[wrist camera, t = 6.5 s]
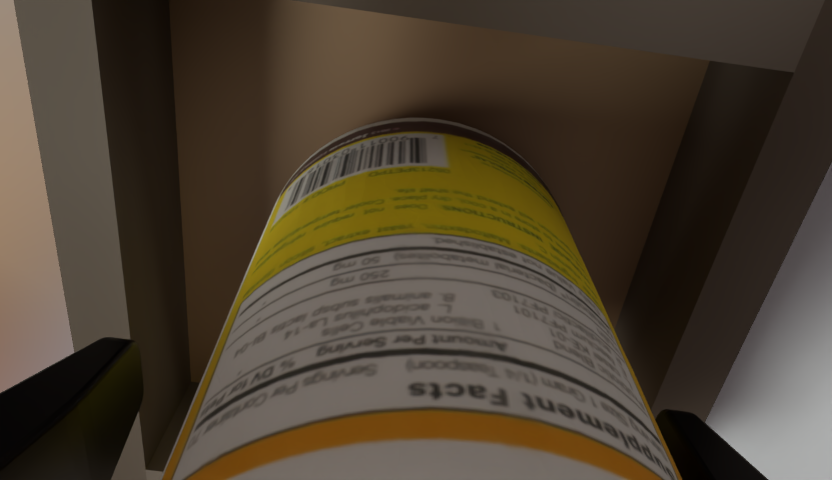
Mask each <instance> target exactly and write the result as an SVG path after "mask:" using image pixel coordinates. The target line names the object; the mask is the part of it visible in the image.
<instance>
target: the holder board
mask: <svg viewBox="0 0 832 480" xmlns="http://www.w3.org/2000/svg"><path fill="white" fill-rule="evenodd" d="M14 4H15V10H16V16H17V22H18V28H19V33H20V39H21V45H22V50H23V57H24V63H25V68H26V74H27V79H28V85H29V91H30V97H31V103H32V109H33V115H34V121H35V126H36V132H37V138H38V144H39V149H40V155H41V161H42V167H43V173H44V179H45V184H46V190H47V196H48V201H49V207H50V213H51V219H52V225H53V231H54V236H55V242H56V247H57V253H58V260H59V266H60V271H61V277H62V283H63V289H64V295H65V300H66V306H67V312H68V318H69V323H70V329H71V335H72V341H73V347H74V352H77V351H79V350H80V349H82V348H84V347H86V346H88V345H90V344H91V343H93V342H95V341H97V340H99V339H101V338H104V337H115V338H123V339H130V340H134V341H135V342H137V343H138V345H139V348H140V354H141V363H142V373H143V382H144V395H143V400H142V404H141V406H140V409H139V412H138V414H137V416H136V419H135V421H134V424H133V426H132V429H131V431H130V434H129V436H128V439H127V441H126V444H125V446H124V449H123V451H122V454H121V456H120V459H119V461H118V464H117V466H116V468H115V471H114V473H113V476H112V478H111V480H160V478H161V476H162V473H163V471H164V469H165V466H166V464H167V461H168V459H169V457H170V454H171V452H172V449H173V447H174V445H175V442H176V440H177V437H178V435H179V433H180V430H181V428H182V425H183V423H184V420H185V418H186V415H187V413H188V410H189V408H190V406H191V403H192V401H193V398H194V396H195V393H196V391H197V389H198V386H199V384H200V382H201V379H202V377H203V374H204V372H205V370H206V367H207V365H208V362H209V360H210V358H211V355H212V353H213V350H214V348H215V346H216V343H217V341H218V338H219V336H220V333H221V331H222V329H223V326H224V324H225V321H226V319H227V316H228V314H229V311H230V309H231V307H232V304H233V302H234V299H235V297H236V295H237V292H238V290H239V288H240V285H241V283H242V280H243V278H244V276H245V273H246V271H247V269H248V266H249V264H250V262H251V259H252V257H253V255H254V252H255V250H256V247H257V245H258V243H259V240H260V238H261V236H262V233H263V231H264V229H265V226H266V224H267V222H268V219H269V217H270V215H271V212H272V210H273V208H274V205H275V203H276V201H277V199H278V197H279V195H280V194H281V192H282V190H283V189H284V187H285V185H286V184H287V182H288V181H289V179H290V178H291V177H292V175H293V174H294V173H295V172H296V171H297V169H298V168H299V167H300V166H301V165H302V164H303V163H304V162H305V161H306V160H307V159H308V158H309V157H310V156H311V155H313V154H314V153H315V152H316V151H318V150H319V149H320V148H322V147H323V146H325V145H326V144H328V143H329V142H331V141H332V140H334V139H336V138H337V137H339V136H341V135H343V134H345V133H347V132H349V131H352V130H354V129H356V128H359V127H362V126H365V125H368V124H372V123H376V122H380V121H385V120H392V119H400V118H431V119H440V120H446V121H451V122H456V123H460V124H463V125H466V126H469V127H472V128H475V129H478V130H480V131H482V132H484V133H487V134H489V135H491V136H492V137H494V138H496V139H498V140H500V141H501V142H503V143H504V144H506V145H507V146H509V147H510V148H511V149H513V150H514V151H515V152H517V153H518V154H519V155H520V156H522V157H523V158H524V159H525V160H526V161H527V162H528V163H529V164H530V165H531V166H532V167H533V168H534V170H535V171H536V172H537V173H538V174H539V176H540V177H541V178H542V180H543V181H544V183H545V184H546V186H547V187H548V189H549V190H550V192H551V194H552V195H553V197H554V199H555V200H556V202H557V204H558V205H559V207H560V210H561V213H562V215H563V218H564V220H565V222H566V224H567V227H568V229H569V231H570V233H571V235H572V238H573V240H574V242H575V244H576V247H577V249H578V251H579V253H580V255H581V258H582V260H583V262H584V264H585V266H586V268H587V270H588V273H589V275H590V277H591V279H592V282H593V284H594V286H595V288H596V290H597V293H598V295H599V297H600V299H601V301H602V304H603V306H604V308H605V310H606V313H607V315H608V317H609V319H610V322H611V324H612V326H613V328H614V331H615V333H616V335H617V337H618V340H619V342H620V344H621V346H622V349H623V351H624V353H625V355H626V357H627V359H628V361H629V363H630V365H631V367H632V369H633V371H634V374H635V376H636V378H637V380H638V383H639V385H640V387H641V389H642V392H643V394H644V396H645V398H646V401H647V403H648V405H649V407H650V410H651V412H652V414H653V416H654V419H655V418H656V416H657V415H658V413H659V412H660V411H662V410H664V409H671V410H678V411H686V412H691V413H693V414H695V415H696V416H698V417H699V418H700V419H701V420H702V421H703V422H705V421H706V419H707V417H708V415H709V413H710V411H711V408H712V406H713V404H714V402H715V400H716V398H717V396H718V394H719V392H720V390H721V388H722V386H723V384H724V382H725V380H726V378H727V376H728V374H729V372H730V369H731V367H732V365H733V363H734V361H735V359H736V357H737V355H738V353H739V351H740V349H741V347H742V345H743V343H744V341H745V339H746V337H747V335H748V333H749V330H750V328H751V326H752V324H753V322H754V320H755V318H756V316H757V314H758V312H759V310H760V308H761V306H762V304H763V302H764V300H765V298H766V296H767V294H768V291H769V289H770V287H771V285H772V283H773V281H774V279H775V277H776V275H777V273H778V271H779V269H780V267H781V265H782V263H783V261H784V259H785V257H786V255H787V252H788V250H789V248H790V246H791V244H792V242H793V240H794V238H795V236H796V234H797V232H798V230H799V228H800V226H801V224H802V222H803V220H804V218H805V216H806V213H807V211H808V209H809V207H810V205H811V203H812V201H813V199H814V197H815V195H816V193H817V191H818V189H819V187H820V185H821V183H822V181H823V179H824V177H825V174H826V172H827V170H828V168H829V166H830V164H831V162H832V0H14Z"/></svg>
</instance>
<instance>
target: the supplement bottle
mask: <svg viewBox="0 0 832 480" xmlns="http://www.w3.org/2000/svg"><path fill="white" fill-rule="evenodd" d="M160 480H682V478H681V476H680V473H679V471H678V469H677V467H676V465H675V462H674V460H673V458H672V456H671V454H670V452H669V449H668V447H667V445H666V443H665V441H664V438H663V436H662V434H661V432H660V430H659V427H658V425H657V423H656V421H655V419H654V416H653V414H652V412H651V410H650V407H649V405H648V403H647V401H646V398H645V396H644V394H643V392H642V389H641V387H640V385H639V383H638V380H637V378H636V376H635V374H634V371H633V369H632V367H631V365H630V363H629V361H628V359H627V357H626V355H625V353H624V351H623V349H622V346H621V344H620V342H619V340H618V337H617V335H616V333H615V331H614V328H613V326H612V324H611V322H610V319H609V317H608V315H607V313H606V310H605V308H604V306H603V304H602V301H601V299H600V297H599V295H598V293H597V290H596V288H595V286H594V284H593V282H592V279H591V277H590V275H589V273H588V270H587V268H586V266H585V264H584V262H583V260H582V258H581V255H580V253H579V251H578V249H577V247H576V244H575V242H574V240H573V238H572V235H571V233H570V231H569V229H568V227H567V224H566V222H565V220H564V218H563V215H562V213H561V210H560V207H559V205H558V204H557V202H556V200H555V199H554V197H553V195H552V194H551V192H550V190H549V189H548V187H547V186H546V184H545V183H544V181H543V180H542V178H541V177H540V176H539V174H538V173H537V172H536V171H535V170H534V168H533V167H532V166H531V165H530V164H529V163H528V162H527V161H526V160H525V159H524V158H523V157H522V156H520V155H519V154H518V153H517V152H515V151H514V150H513V149H511V148H510V147H509V146H507V145H506V144H504V143H503V142H501V141H500V140H498V139H496V138H494V137H492V136H491V135H489V134H487V133H484V132H482V131H480V130H478V129H475V128H472V127H469V126H466V125H463V124H460V123H456V122H451V121H446V120H440V119H431V118H400V119H392V120H385V121H380V122H376V123H372V124H368V125H365V126H362V127H359V128H356V129H354V130H352V131H349V132H347V133H345V134H343V135H341V136H339V137H337V138H336V139H334V140H332V141H331V142H329V143H328V144H326V145H325V146H323V147H322V148H320V149H319V150H318V151H316V152H315V153H314V154H313V155H311V156H310V157H309V158H308V159H307V160H306V161H305V162H304V163H303V164H302V165H301V166H300V167H299V168H298V169H297V171H296V172H295V173H294V174H293V175H292V177H291V178H290V179H289V181H288V182H287V184H286V185H285V187H284V189H283V190H282V192H281V194H280V195H279V197H278V199H277V201H276V203H275V205H274V208H273V210H272V212H271V215H270V217H269V219H268V222H267V224H266V226H265V229H264V231H263V233H262V236H261V238H260V240H259V243H258V245H257V247H256V250H255V252H254V255H253V257H252V259H251V262H250V264H249V266H248V269H247V271H246V273H245V276H244V278H243V280H242V283H241V285H240V288H239V290H238V292H237V295H236V297H235V299H234V302H233V304H232V307H231V309H230V311H229V314H228V316H227V319H226V321H225V324H224V326H223V329H222V331H221V333H220V336H219V338H218V341H217V343H216V346H215V348H214V350H213V353H212V355H211V358H210V360H209V362H208V365H207V367H206V370H205V372H204V374H203V377H202V379H201V382H200V384H199V386H198V389H197V391H196V393H195V396H194V398H193V401H192V403H191V406H190V408H189V410H188V413H187V415H186V418H185V420H184V423H183V425H182V428H181V430H180V433H179V435H178V437H177V440H176V442H175V445H174V447H173V449H172V452H171V454H170V457H169V459H168V461H167V464H166V466H165V469H164V471H163V473H162V476H161V478H160Z"/></svg>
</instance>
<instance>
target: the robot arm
mask: <svg viewBox="0 0 832 480" xmlns="http://www.w3.org/2000/svg"><path fill="white" fill-rule="evenodd" d="M143 395H144V382H143V373H142V363H141V354H140V348H139V345H138V343H137V342H135V341H134V340H130V339H123V338H115V337H104V338H101V339H99V340H97V341H95V342H93V343H91V344H90V345H88V346H86V347H84V348H82V349H80V350H79V351H77V352H75V353H73V354H71V355H70V356H68V357H66V358H64V359H62V360H60V361H58V362H57V363H55V364H53V365H51V366H49V367H47V368H46V369H44V370H42V371H40V372H38V373H36V374H35V375H33V376H31V377H29V378H27V379H25V380H23V381H22V382H20V383H18V384H16V385H14V386H13V387H11V388H9V389H7V390H5V391H3V392H1V393H0V480H111V478H112V476H113V473H114V471H115V468H116V466H117V464H118V461H119V459H120V456H121V454H122V451H123V449H124V446H125V444H126V441H127V439H128V436H129V434H130V431H131V429H132V426H133V424H134V421H135V419H136V416H137V414H138V412H139V409H140V406H141V404H142V400H143ZM655 421H656V423H657V425H658V427H659V430H660V432H661V434H662V436H663V438H664V441H665V443H666V445H667V447H668V449H669V452H670V454H671V456H672V458H673V460H674V462H675V465H676V467H677V469H678V471H679V473H680V476H681V478H682V480H768V479H767V478H766V477H765V476H764V475H763V474H761V473H760V472H759V471H758V470H757V469H756V468H755V467H754V466H753V465H751V464H750V463H749V462H748V461H747V460H746V459H745V458H744V457H743V456H741V455H740V454H739V453H738V452H737V451H736V450H735V449H734V448H732V447H731V446H730V445H729V444H728V443H727V442H726V441H725V440H724V439H722V438H721V437H720V436H719V435H718V434H717V433H716V432H715V431H713V430H712V429H711V428H710V427H709V426H708V425H707V424H706V423H705V422H703V421H702V420H701V419H700V418H699V417H698V416H696V415H695V414H693V413H691V412H686V411H678V410H671V409H664V410H662V411H660V412H659V413H658V415H657V416H656V418H655Z"/></svg>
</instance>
